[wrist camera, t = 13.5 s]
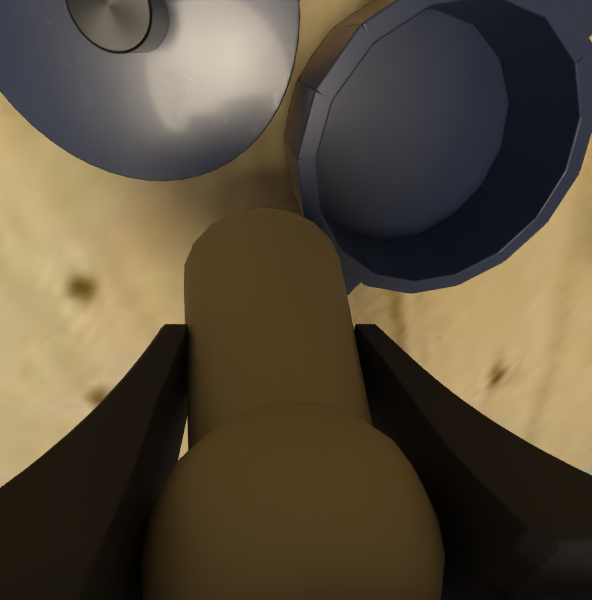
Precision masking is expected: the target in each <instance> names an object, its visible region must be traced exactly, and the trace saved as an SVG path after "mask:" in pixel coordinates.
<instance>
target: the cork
mask: <svg viewBox="0 0 592 600" xmlns="http://www.w3.org/2000/svg"><path fill="white" fill-rule="evenodd" d="M184 303H185V324H188V339H187V415H188V452H187V453H186V454H185V455H184V456H183V457H182V458H180V459H179V460H178V461H177V463H176V465H175V467H174V468H173V470H172V472H171V474H170V475H169V477H168V479H167V481H166V482H165V484H164V486H163V488H162V490H161V493H160V495H159V497H158V499H157V501H156V504H155V506H154V508H153V510H152V512H151V515H150V517H149V520H148V525H147V530H146V535H145V539H144V544H143V549H142V554H141V572H142V599H143V600H440V599H441V593H442V582H443V572H444V562H445V553H444V547H443V542H442V537H441V531H440V526H439V520H438V517H437V515H436V513H435V511H434V508H433V506H432V504H431V502H430V499H429V497H428V495H427V492H426V490H425V488H424V486H423V484H422V482H421V480H420V479H419V477H418V475H417V473H416V471H415V470H414V468H413V466H412V465H411V463H410V462H409V461H408V459H407V458H406V457H405V455H404V454H403V452H402V451H401V450H400V448H399V447H398V446H397V444H396V443H395V442H394V440H392V439H391V438H389V437H388V436H386V435H385V434H383V433H382V432H380V431H379V430H377V429H376V428H374V427H373V426H372V420H371V415H370V410H369V405H368V400H367V395H366V390H365V385H364V380H363V374H362V369H361V364H360V359H359V354H358V349H357V344H356V339H355V334H354V328H353V323H352V318H351V313H350V308H349V303H348V298H347V293H346V288H345V282H344V277H343V272H342V267H341V262H340V258H339V256H338V254H337V252H336V250H335V247H334V245H333V243H332V241H331V239H330V238H329V237H328V236H327V235H326V234H325V233H324V232H323V231H322V230H321V229H320V228H319V227H318V226H317V225H316V224H315V223H314V222H312V221H310V220H308V219H306V218H304V217H302V216H300V215H297V214H295V213H293V212H291V211H287V210H279V209H271V208H264V207H262V208H256V209H250V210H245V211H239V212H235V213H233V214H231V215H229V216H227V217H225V218H223V219H221V220H219V221H218V222H216V223H214V224H212V225H211V226H210V227H209V228H208V229H207V230H206V231H205V232H204V233H203V234H202V235H201V236H200V237H199V238H198V239H197V240H196V242H195V243H194V244H193V246H192V249H191V251H190V253H189V256H188V258H187V261H186V263H185V270H184Z"/></svg>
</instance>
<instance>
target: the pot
mask: <svg viewBox="0 0 592 600" xmlns="http://www.w3.org/2000/svg"><path fill="white" fill-rule="evenodd" d="M591 35H592V0H374V1H372V2H371V3H369V4H368V5H366V6H364V7H363V8H361V9H359V10H358V11H356V12H354V13H353V14H352V15H350V16H349V17H348V18H346V19H345V20H344V21H343V22H341V23H340V24H338V25H337V26H336V27H334V28H333V30H331V31H330V33H329V34H328V36H327V37H326V38H325V39H324V40H323V42H322V43H321V44H320V46H319V47H318V48H317V50H316V51H315V52H314V54H313V55H312V56H311V58H310V60H309V62H308V63H307V65H306V67H305V68H304V70H303V72H302V74H301V76H300V77H299V79H298V82H297V85H296V88H295V90H294V94H293V97H292V100H291V104H290V107H289V113H288V118H287V124H286V131H285V137H284V138H285V145H286V159H287V164H288V169H289V176H290V183H291V186H292V189H293V191H294V194H295V196H296V199H297V202H298V204H299V207H300V209H301V212H302V215H303V217H304V218H306V219H308V220H310V221H312V222H314V223H315V224H316V225H317V226H318V227H319V228H320V229H321V230H322V231H323V232H324V233H325V234H326V235H327V236H328V237H329V238H330V239H331V241H332V243H333V245H334V247H335V250H336V252H337V254H338V256H339V258H340V262H341V267H342V272H343V277H344V282H345V288H346V293H347V296H348V295H349V294H350V292H351V291H352V290H353V289H354V288H355V287H356V286H357V285H358V284H359V283H360V282H362V283H363V284H365V285H367V286H370V287H376V288H381V289H387V290H393V291H398V292H404V293H409V294H410V293H418V292H424V291H429V290H435V289H441V288H446V287H452V286H457V285H459V284H461V283H463V282H465V281H467V280H469V279H471V278H473V277H475V276H477V275H479V274H481V273H483V272H485V271H487V270H489V269H491V268H493V267H495V266H497V265H499V264H501V263H503V261H505V260H507V259H508V258H509V257H510V256H511V255H512V254H513V253H514V252H515V251H517V250H518V249H519V248H520V247H521V246H522V245H523V244H524V243H525V242H527V241H528V240H529V239H530V238H531V237H532V236H533V235H534V234H535V233H536V232H538V231H539V230H540V229H541V228H542V227H543V226H544V225H545V223H547V222H548V221H549V219H550V218H551V216H552V215H553V213H554V212H555V210H556V208H557V207H558V205H559V204H560V202H561V201H562V199H563V198H564V196H565V195H566V193H567V191H568V190H569V188H570V187H571V185H572V184H573V182H574V181H575V179H576V178H577V176H578V175H579V171H580V170H581V166H582V163H583V160H584V156H585V153H586V150H587V146H588V143H589V139H590V136H591V133H592V42H591V41H590V39H589V37H590V36H591Z"/></svg>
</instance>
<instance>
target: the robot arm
mask: <svg viewBox="0 0 592 600" xmlns="http://www.w3.org/2000/svg"><path fill="white" fill-rule="evenodd" d="M354 334H355V339H356V344H357V349H358V354H359V359H360V364H361V369H362V374H363V380H364V385H365V390H366V395H367V400H368V405H369V410H370V415H371V420H372V426H373V427H374V428H376V429H377V430H379V431H380V432H382V433H383V434H385V435H386V436H388V437H389V438H391V439H392V440H394V442H395V443H396V444H397V446H398V447H399V448H400V450H401V451H402V452H403V454H404V455H405V457H406V458H407V459H408V461H409V462H410V463H411V465H412V466H413V468H414V470H415V471H416V473H417V475H418V477H419V479H420V480H421V482H422V484H423V486H424V488H425V490H426V492H427V495H428V497H429V499H430V502H431V504H432V506H433V508H434V511H435V513H436V515H437V517H438V520H439V526H440V531H441V537H442V542H443V547H444V553H445V562H444V572H443V582H442V593H441V599H440V600H592V475H590V474H588V473H586V472H583V471H581V470H579V469H577V468H575V467H573V466H571V465H569V464H567V463H565V462H563V461H562V460H560V459H558V458H556V457H554V456H552V455H550V454H548V453H546V452H544V451H543V450H541V449H539V448H537V447H535V446H534V445H532V444H530V443H528V442H526V441H525V440H523V439H521V438H520V437H518V436H516V435H515V434H513V433H511V432H510V431H508V430H506V429H505V428H503V427H501V426H500V425H498V424H497V423H495V422H494V421H492V420H491V419H489V418H487V417H486V416H485V415H483V414H482V413H480V412H479V411H477V410H476V409H475V408H473V407H472V406H470V405H469V404H467V403H466V402H464V401H463V400H462V399H460V398H459V397H458V396H456V395H455V394H454V393H452V392H451V391H450V390H449V389H448V388H446V387H445V386H444V385H443V384H441V383H440V382H439V381H438V380H436V379H435V378H434V377H433V376H432V375H430V374H429V373H428V372H427V371H426V370H425V369H423V368H422V367H421V366H420V365H419V364H418V363H417V362H415V361H414V360H413V359H412V358H411V357H410V356H409V355H408V354H407V353H406V352H404V351H403V350H402V349H401V348H400V347H399V346H398V345H397V344H396V343H395V342H394V341H393V340H392V339H391V338H390V337H388V336H387V335H386V334H385V333H384V332H383V331H382V330H381V329H380V328H379V327H378V326H376V325H375V324H356V325H355V329H354ZM187 339H188V324H165V325H164V326H163V327H162V328H161V329H160V331H159V332H158V334H157V335H156V337H155V338H154V339H153V341H152V342H151V344H150V345H149V346H148V348H147V349H146V350H145V352H144V353H143V354H142V355H141V357H140V358H139V359H138V360H137V362H136V363H135V364H134V365H133V367H132V368H131V369H130V370H129V371H128V373H127V374H126V375H125V376H124V377H123V379H122V380H121V381H120V382H119V383H118V384H117V385H116V386H115V387H114V389H113V390H112V391H111V392H110V393H109V394H108V395H107V396H106V397H105V398H104V399H103V401H102V402H101V403H100V404H99V405H98V406H97V407H96V408H95V409H94V410H93V411H92V412H91V413H90V414H89V415H88V416H87V417H86V418H85V419H83V420H82V421H81V422H80V423H79V424H78V425H77V426H76V427H75V428H74V429H73V430H72V431H71V432H69V433H68V434H67V435H66V436H65V437H64V438H62V439H61V440H60V441H59V442H58V443H57V444H55V445H54V446H53V447H52V448H51V449H50V450H48V451H47V452H46V453H45V454H44V455H42V456H41V457H40V458H39V459H38V460H36V461H35V462H34V463H33V464H31V465H30V466H29V467H27V468H26V469H25V470H24V471H22V472H21V473H20V474H18V475H17V476H15V477H14V478H13V479H11V480H10V481H9V482H7V483H6V484H5V485H3V486H2V487H1V488H0V600H143V599H142V572H141V554H142V549H143V544H144V539H145V535H146V530H147V525H148V520H149V517H150V515H151V512H152V510H153V508H154V506H155V504H156V501H157V499H158V497H159V495H160V493H161V490H162V488H163V486H164V484H165V482H166V481H167V479H168V477H169V475H170V474H171V472H172V470H173V468H174V467H175V465H176V463H177V461H178V457H179V453H180V448H181V443H182V439H183V434H184V429H185V424H186V420H187Z"/></svg>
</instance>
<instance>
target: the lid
mask: <svg viewBox="0 0 592 600" xmlns="http://www.w3.org/2000/svg"><path fill="white" fill-rule="evenodd" d="M299 21H300V10H299V0H0V91H1V93H2V94H3V95H4V96H5V97H6V99H7V100H8V101H9V102H10V103H11V104H12V106H13V107H14V108H15V109H16V110H17V111H18V112H19V113H20V114H21V115H22V116H23V117H24V118H25V119H26V120H27V121H28V122H29V123H30V124H31V125H32V126H34V127H35V128H36V129H37V130H38V131H40V132H41V133H42V134H43V135H45V136H46V137H47V138H48V139H49V140H51V141H52V142H53V143H55V144H56V145H58V146H59V147H61V148H62V149H64V150H65V151H67V152H68V153H70V154H72V155H74V156H75V157H77V158H79V159H81V160H83V161H85V162H87V163H89V164H91V165H93V166H96V167H98V168H101V169H103V170H105V171H108V172H111V173H114V174H118V175H122V176H125V177H129V178H135V179H141V180H149V181H172V180H182V179H187V178H192V177H196V176H200V175H203V174H205V173H208V172H211V171H213V170H216V169H218V168H220V167H221V166H223V165H225V164H227V163H229V162H231V161H232V160H233V159H235V158H236V157H237V156H239V155H240V154H241V153H243V152H244V151H245V150H247V149H248V148H249V147H250V146H251V145H252V144H253V143H254V142H255V141H256V140H257V139H258V138H259V136H260V135H261V134H262V132H263V131H264V130H265V128H266V127H267V126H268V125H269V123H270V122H271V120H272V118H273V117H274V115H275V113H276V111H277V110H278V108H279V106H280V104H281V102H282V99H283V97H284V95H285V92H286V90H287V88H288V85H289V81H290V78H291V74H292V71H293V68H294V63H295V58H296V52H297V46H298V38H299Z"/></svg>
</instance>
